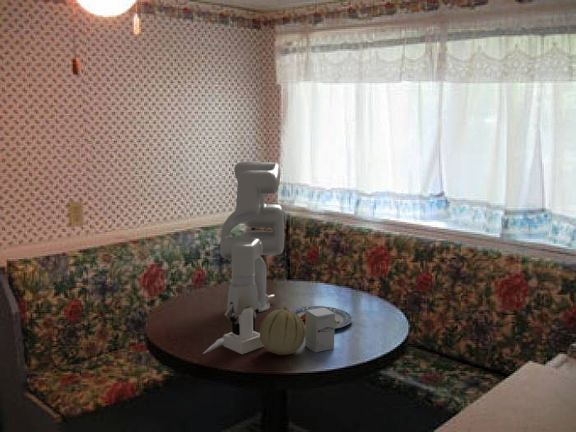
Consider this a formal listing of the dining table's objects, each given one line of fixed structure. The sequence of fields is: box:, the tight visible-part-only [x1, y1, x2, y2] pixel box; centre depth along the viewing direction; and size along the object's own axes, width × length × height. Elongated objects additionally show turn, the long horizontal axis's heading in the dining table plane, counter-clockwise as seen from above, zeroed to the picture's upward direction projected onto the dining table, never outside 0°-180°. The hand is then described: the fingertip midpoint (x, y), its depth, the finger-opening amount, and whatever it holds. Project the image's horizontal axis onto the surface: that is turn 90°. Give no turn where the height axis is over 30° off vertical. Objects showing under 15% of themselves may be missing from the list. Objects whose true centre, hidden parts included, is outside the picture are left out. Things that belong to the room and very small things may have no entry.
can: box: [234, 307, 254, 341], centre depth 192 cm, size 6×6×12 cm
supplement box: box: [304, 308, 335, 354], centre depth 192 cm, size 7×7×13 cm
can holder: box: [222, 330, 264, 355], centre depth 194 cm, size 10×10×4 cm
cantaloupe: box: [259, 306, 305, 356], centre depth 187 cm, size 15×15×15 cm
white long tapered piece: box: [202, 337, 224, 355], centre depth 194 cm, size 15×3×2 cm, turn 151°
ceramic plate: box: [289, 305, 353, 330], centre depth 217 cm, size 26×26×3 cm
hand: (243, 331), depth 193 cm, fingers closed on can, 6 cm apart
